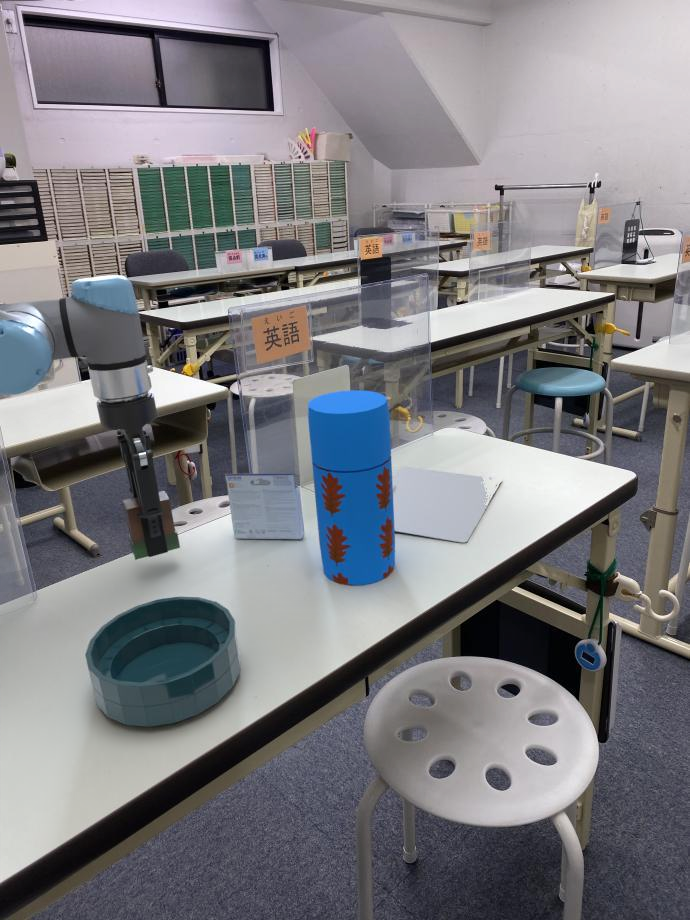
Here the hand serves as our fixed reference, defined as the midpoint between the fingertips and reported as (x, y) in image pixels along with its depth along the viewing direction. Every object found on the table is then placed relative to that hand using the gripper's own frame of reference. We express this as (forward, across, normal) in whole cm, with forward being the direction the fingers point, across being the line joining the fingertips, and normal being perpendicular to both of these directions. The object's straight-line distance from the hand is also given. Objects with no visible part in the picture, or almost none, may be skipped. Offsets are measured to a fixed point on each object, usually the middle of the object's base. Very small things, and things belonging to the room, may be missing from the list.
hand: (155, 547), depth 101 cm
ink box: (+4, +1, -18) cm, 18 cm away
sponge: (0, 0, 0) cm, 0 cm away
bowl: (+4, -26, +4) cm, 27 cm away
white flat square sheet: (+4, -1, -45) cm, 45 cm away
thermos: (+4, -15, -26) cm, 30 cm away
